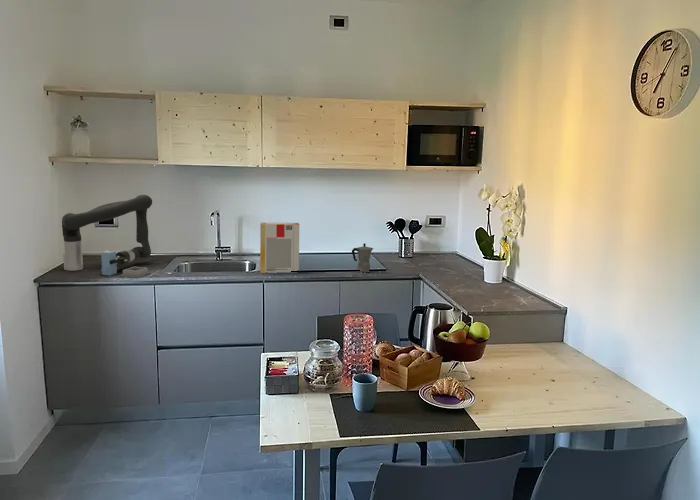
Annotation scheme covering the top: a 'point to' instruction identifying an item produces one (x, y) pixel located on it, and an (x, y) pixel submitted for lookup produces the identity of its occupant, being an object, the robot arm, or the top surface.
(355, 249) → the coffeepot
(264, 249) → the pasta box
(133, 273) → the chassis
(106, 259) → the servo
